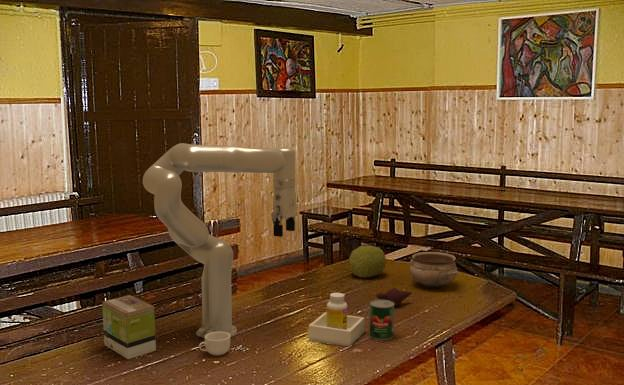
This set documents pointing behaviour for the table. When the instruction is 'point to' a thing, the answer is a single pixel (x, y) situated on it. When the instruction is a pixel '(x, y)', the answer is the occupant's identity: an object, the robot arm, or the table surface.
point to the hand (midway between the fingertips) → (284, 233)
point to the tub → (336, 331)
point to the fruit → (367, 261)
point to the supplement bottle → (337, 311)
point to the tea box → (129, 326)
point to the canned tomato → (381, 319)
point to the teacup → (216, 343)
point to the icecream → (394, 296)
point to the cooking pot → (433, 269)
